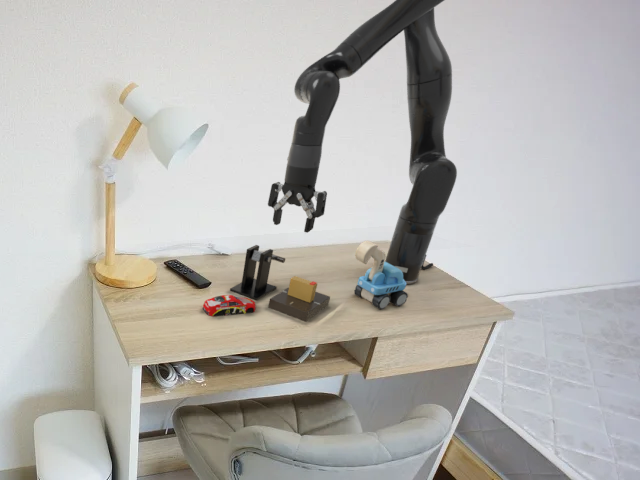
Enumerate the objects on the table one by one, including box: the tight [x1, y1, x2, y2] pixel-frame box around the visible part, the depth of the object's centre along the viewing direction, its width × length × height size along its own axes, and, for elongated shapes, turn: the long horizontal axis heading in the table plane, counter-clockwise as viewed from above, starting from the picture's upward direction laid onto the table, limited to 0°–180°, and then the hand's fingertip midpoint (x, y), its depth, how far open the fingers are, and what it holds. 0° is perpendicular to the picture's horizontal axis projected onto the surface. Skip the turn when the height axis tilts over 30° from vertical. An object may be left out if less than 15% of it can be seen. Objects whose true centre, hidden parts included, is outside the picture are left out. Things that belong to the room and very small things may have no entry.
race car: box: [202, 294, 257, 317], centre depth 124 cm, size 13×5×4 cm, turn 102°
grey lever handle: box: [252, 250, 286, 264], centre depth 133 cm, size 12×5×2 cm, turn 137°
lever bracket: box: [229, 244, 277, 302], centre depth 132 cm, size 10×8×12 cm
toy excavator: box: [353, 240, 409, 310], centre depth 126 cm, size 9×17×17 cm, turn 111°
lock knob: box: [288, 275, 318, 303], centre depth 125 cm, size 6×2×5 cm, turn 46°
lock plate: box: [267, 286, 331, 322], centre depth 127 cm, size 12×10×3 cm
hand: (291, 227), depth 132 cm, fingers open, 8 cm apart
